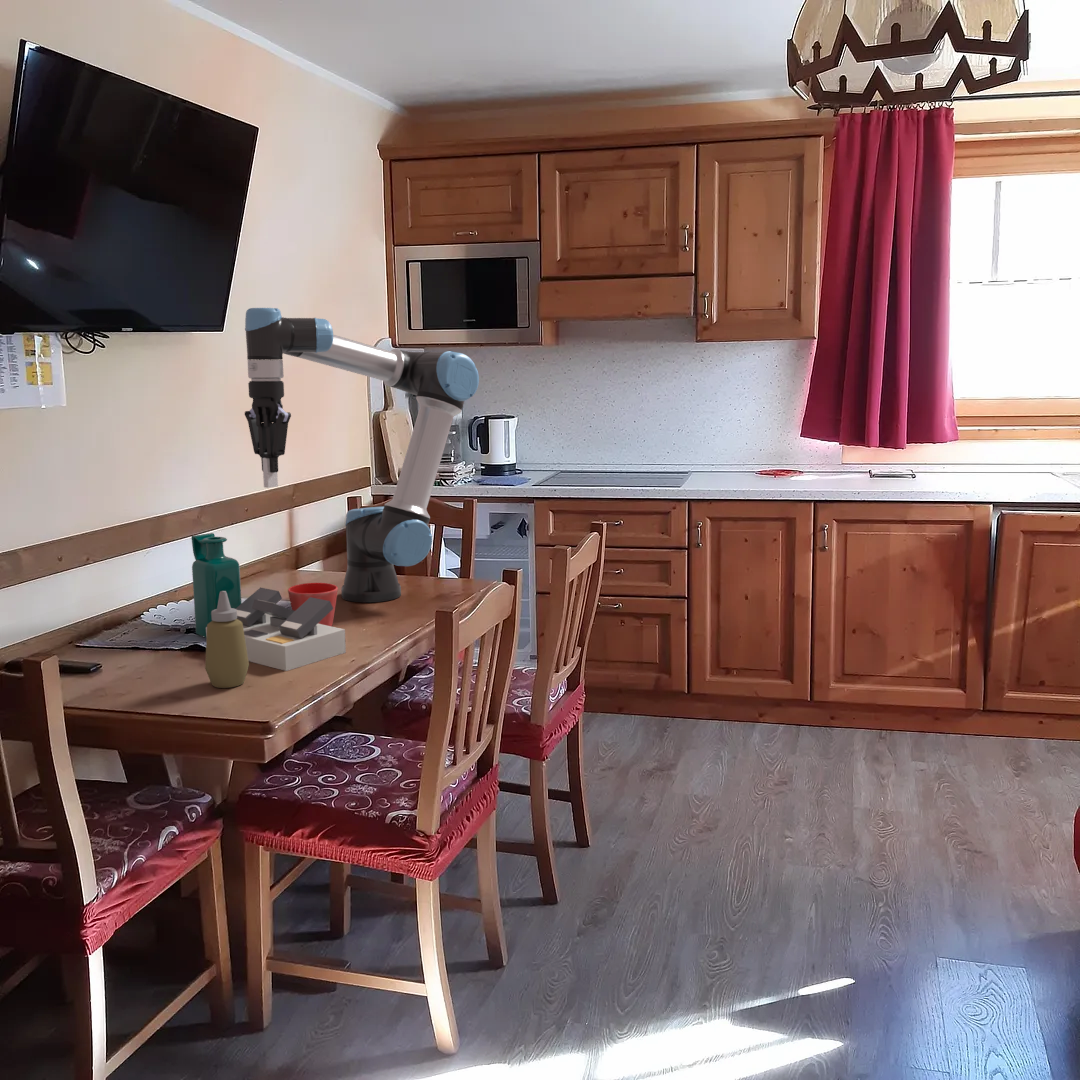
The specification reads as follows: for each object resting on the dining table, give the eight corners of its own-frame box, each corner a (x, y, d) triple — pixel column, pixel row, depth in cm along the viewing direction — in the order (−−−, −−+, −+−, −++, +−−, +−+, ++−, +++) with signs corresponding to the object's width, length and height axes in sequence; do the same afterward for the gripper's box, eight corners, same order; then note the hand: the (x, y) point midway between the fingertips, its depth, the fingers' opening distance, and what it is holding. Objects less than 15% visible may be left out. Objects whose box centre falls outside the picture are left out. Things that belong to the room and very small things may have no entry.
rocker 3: (313, 604, 223) (309, 596, 222) (333, 608, 220) (329, 600, 219) (281, 634, 217) (277, 626, 216) (301, 638, 214) (297, 630, 213)
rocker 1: (264, 594, 233) (260, 587, 232) (282, 598, 229) (278, 590, 228) (231, 622, 226) (227, 614, 225) (249, 626, 223) (245, 618, 222)
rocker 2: (286, 620, 228) (289, 610, 229) (305, 624, 225) (308, 615, 225) (251, 608, 220) (254, 598, 221) (270, 612, 217) (273, 602, 217)
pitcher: (246, 633, 237) (241, 536, 233) (212, 641, 231) (206, 541, 227) (223, 625, 244) (218, 531, 240) (189, 633, 238) (183, 536, 234)
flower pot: (328, 636, 234) (326, 594, 233) (282, 634, 237) (280, 591, 235) (346, 624, 245) (344, 583, 243) (301, 622, 247) (300, 581, 245)
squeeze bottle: (211, 678, 205) (205, 587, 202) (253, 677, 206) (249, 586, 202) (201, 691, 197) (195, 597, 194) (245, 690, 198) (240, 596, 194)
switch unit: (267, 634, 237) (265, 604, 235) (345, 652, 222) (344, 621, 221) (207, 650, 224) (205, 619, 223) (286, 671, 209) (284, 637, 208)
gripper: (232, 379, 233) (238, 486, 237) (272, 380, 225) (277, 490, 230) (260, 379, 239) (265, 483, 243) (299, 379, 231) (303, 487, 235)
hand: (270, 486), depth 236 cm, fingers closed
